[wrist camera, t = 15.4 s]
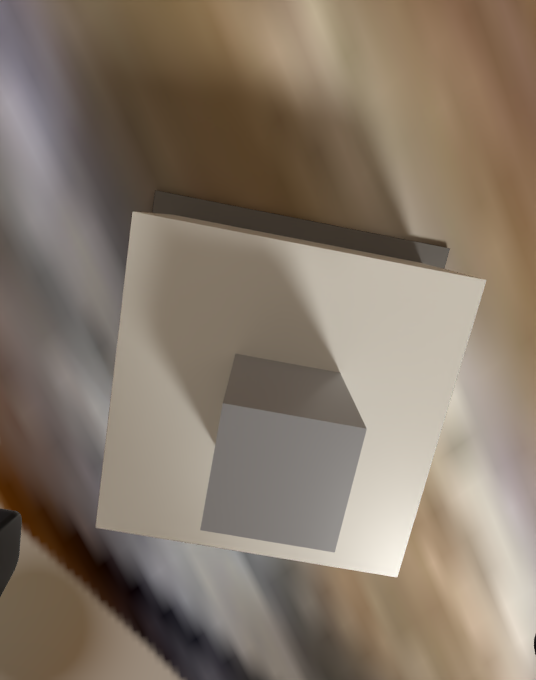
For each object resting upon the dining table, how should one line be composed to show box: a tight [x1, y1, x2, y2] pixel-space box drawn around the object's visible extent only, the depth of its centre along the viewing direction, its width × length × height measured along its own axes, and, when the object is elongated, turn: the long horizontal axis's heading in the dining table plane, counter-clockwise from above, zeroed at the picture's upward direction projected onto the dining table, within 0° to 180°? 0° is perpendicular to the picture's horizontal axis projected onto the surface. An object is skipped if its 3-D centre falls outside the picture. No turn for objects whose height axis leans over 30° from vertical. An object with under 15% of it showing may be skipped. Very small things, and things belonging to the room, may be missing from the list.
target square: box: [152, 190, 450, 269], centre depth 20 cm, size 12×12×1 cm
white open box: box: [96, 211, 486, 577], centre depth 16 cm, size 10×10×10 cm
